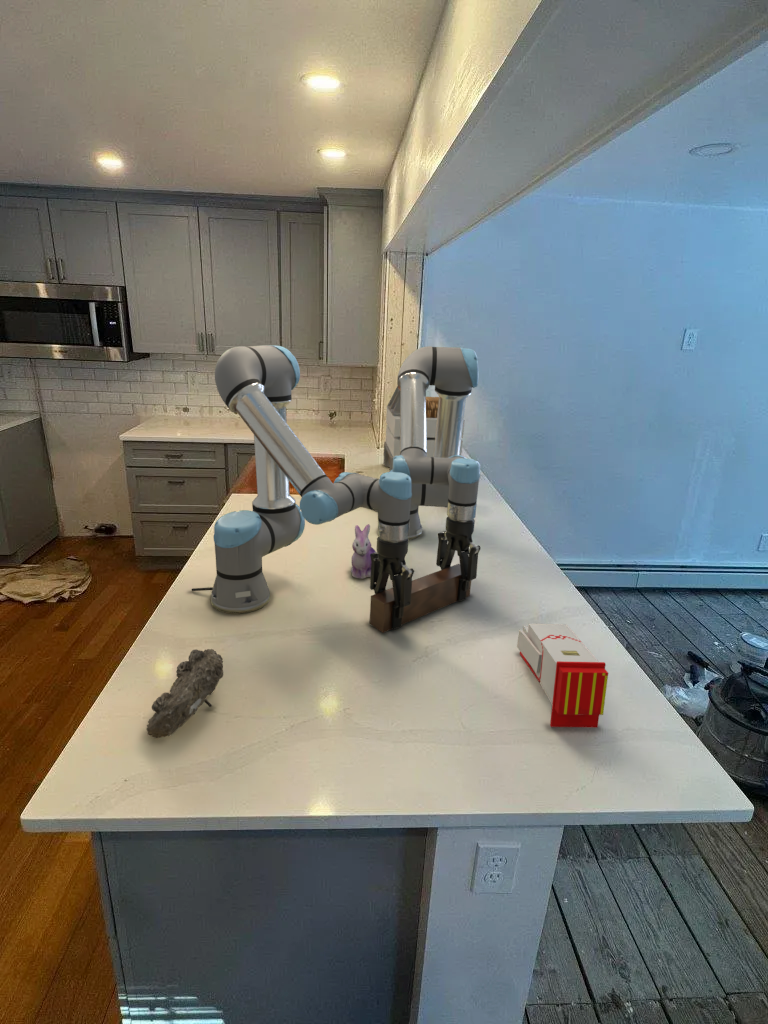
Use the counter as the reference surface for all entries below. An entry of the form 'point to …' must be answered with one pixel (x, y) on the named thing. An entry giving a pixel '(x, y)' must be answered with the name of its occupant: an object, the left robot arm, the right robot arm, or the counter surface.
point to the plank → (418, 598)
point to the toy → (565, 673)
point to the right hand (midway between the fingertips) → (453, 595)
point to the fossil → (186, 692)
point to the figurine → (361, 553)
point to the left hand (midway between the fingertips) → (388, 622)
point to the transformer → (394, 427)
